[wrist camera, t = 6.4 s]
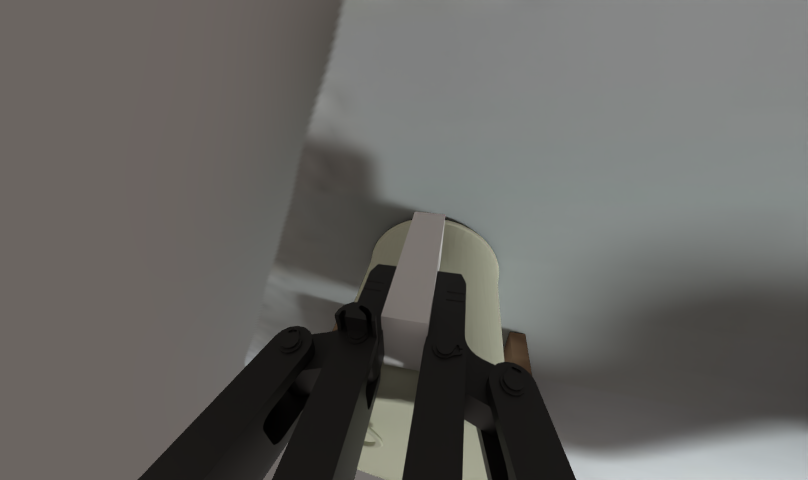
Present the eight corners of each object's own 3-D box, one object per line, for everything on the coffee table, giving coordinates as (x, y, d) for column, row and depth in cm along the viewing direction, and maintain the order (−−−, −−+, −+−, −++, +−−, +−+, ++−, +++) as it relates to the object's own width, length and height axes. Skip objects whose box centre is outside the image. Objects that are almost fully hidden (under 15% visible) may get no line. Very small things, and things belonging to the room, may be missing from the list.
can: (441, 190, 17) (404, 387, 8) (525, 284, 20) (569, 507, 11) (348, 258, 22) (255, 431, 13) (426, 325, 25) (399, 506, 16)
